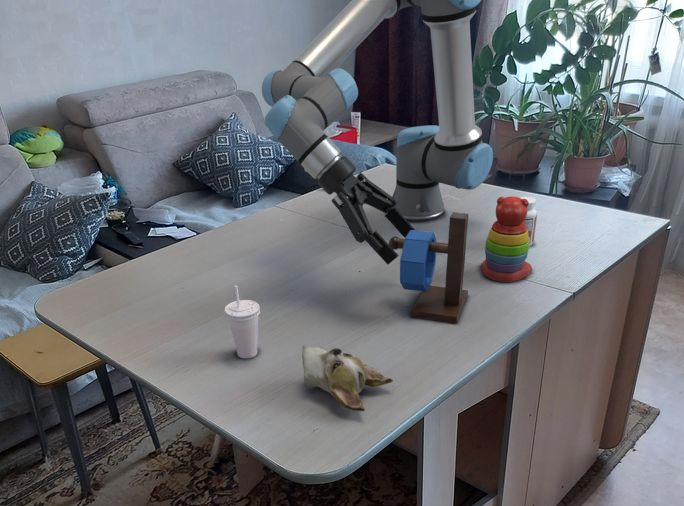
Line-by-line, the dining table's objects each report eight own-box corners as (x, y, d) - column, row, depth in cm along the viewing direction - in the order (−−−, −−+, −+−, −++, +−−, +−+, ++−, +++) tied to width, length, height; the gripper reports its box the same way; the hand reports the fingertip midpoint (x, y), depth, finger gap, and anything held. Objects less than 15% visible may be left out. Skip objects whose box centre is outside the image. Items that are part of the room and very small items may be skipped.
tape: (399, 296, 130) (400, 245, 124) (413, 272, 139) (414, 223, 133) (422, 299, 129) (424, 248, 122) (435, 275, 137) (437, 225, 131)
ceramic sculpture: (320, 322, 112) (397, 350, 105) (320, 363, 117) (393, 392, 110) (284, 351, 105) (363, 383, 98) (285, 393, 109) (361, 426, 103)
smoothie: (231, 345, 124) (222, 279, 116) (264, 343, 124) (257, 276, 117) (229, 363, 118) (219, 295, 111) (264, 361, 119) (257, 292, 111)
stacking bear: (532, 267, 148) (543, 192, 139) (524, 286, 141) (534, 207, 131) (485, 261, 152) (493, 187, 143) (475, 278, 145) (481, 201, 135)
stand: (380, 312, 133) (380, 219, 122) (395, 287, 142) (397, 199, 132) (456, 323, 128) (463, 227, 117) (467, 296, 137) (475, 205, 127)
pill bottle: (518, 236, 164) (523, 193, 158) (538, 242, 160) (544, 199, 154) (502, 242, 161) (507, 199, 155) (522, 249, 157) (528, 205, 151)
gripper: (338, 162, 139) (404, 235, 142) (293, 200, 119) (371, 283, 123) (361, 138, 135) (429, 214, 138) (318, 173, 115) (399, 260, 118)
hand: (402, 246), depth 130 cm, fingers open, 13 cm apart
